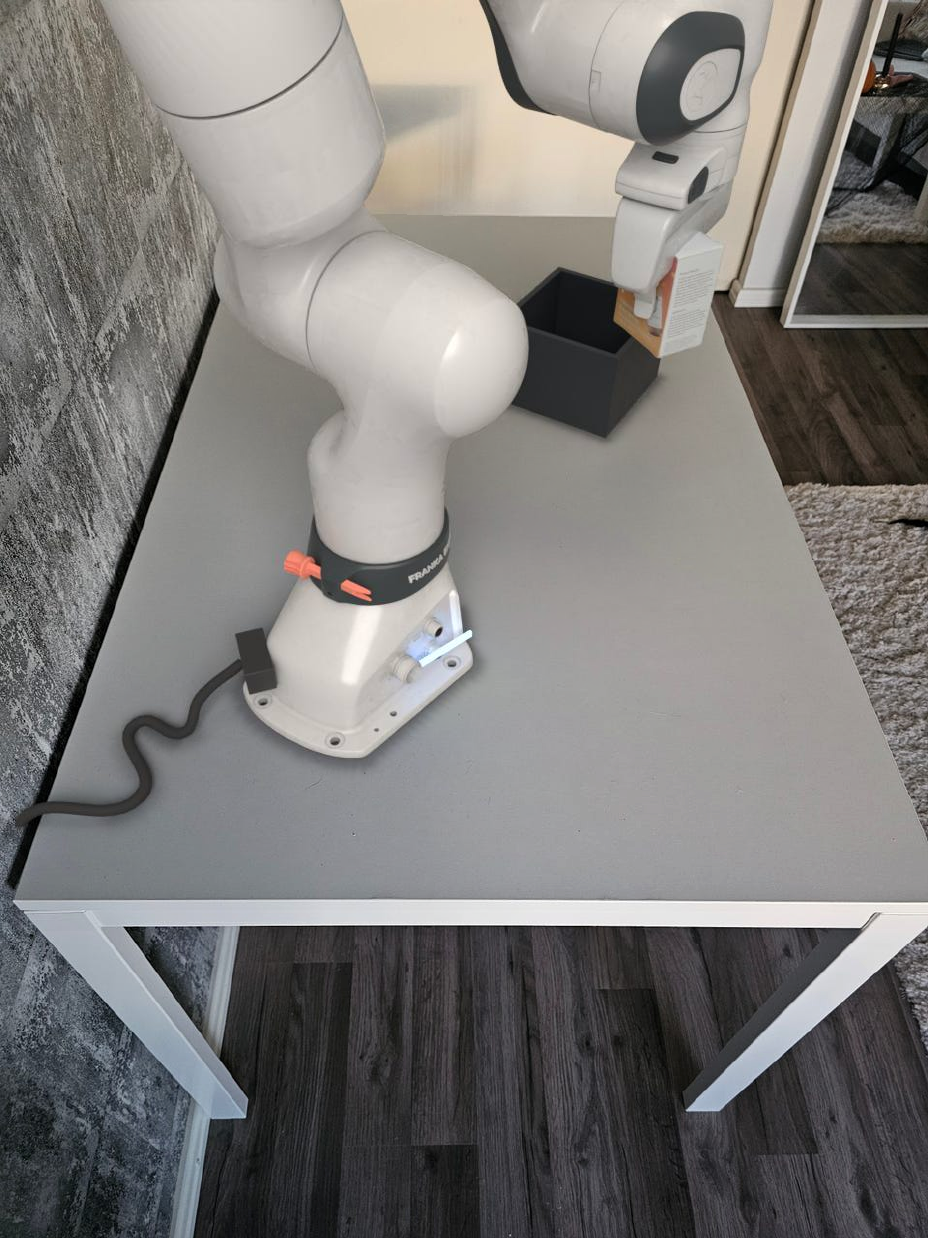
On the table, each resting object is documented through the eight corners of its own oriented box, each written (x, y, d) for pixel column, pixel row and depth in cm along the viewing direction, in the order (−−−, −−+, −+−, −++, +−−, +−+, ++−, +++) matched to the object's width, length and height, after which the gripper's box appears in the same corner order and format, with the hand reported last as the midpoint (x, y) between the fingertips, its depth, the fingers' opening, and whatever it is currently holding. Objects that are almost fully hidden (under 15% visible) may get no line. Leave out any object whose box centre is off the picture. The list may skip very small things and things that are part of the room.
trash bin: (605, 438, 110) (618, 359, 102) (494, 397, 115) (497, 319, 107) (657, 376, 119) (672, 299, 111) (551, 342, 124) (558, 266, 116)
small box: (612, 321, 94) (626, 221, 87) (655, 309, 96) (674, 209, 88) (657, 360, 90) (677, 257, 82) (703, 346, 92) (726, 244, 84)
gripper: (701, 104, 87) (674, 245, 97) (606, 180, 75) (588, 331, 85) (765, 118, 84) (730, 261, 95) (677, 198, 73) (649, 351, 83)
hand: (662, 295), depth 90 cm, fingers closed on small box, 7 cm apart
